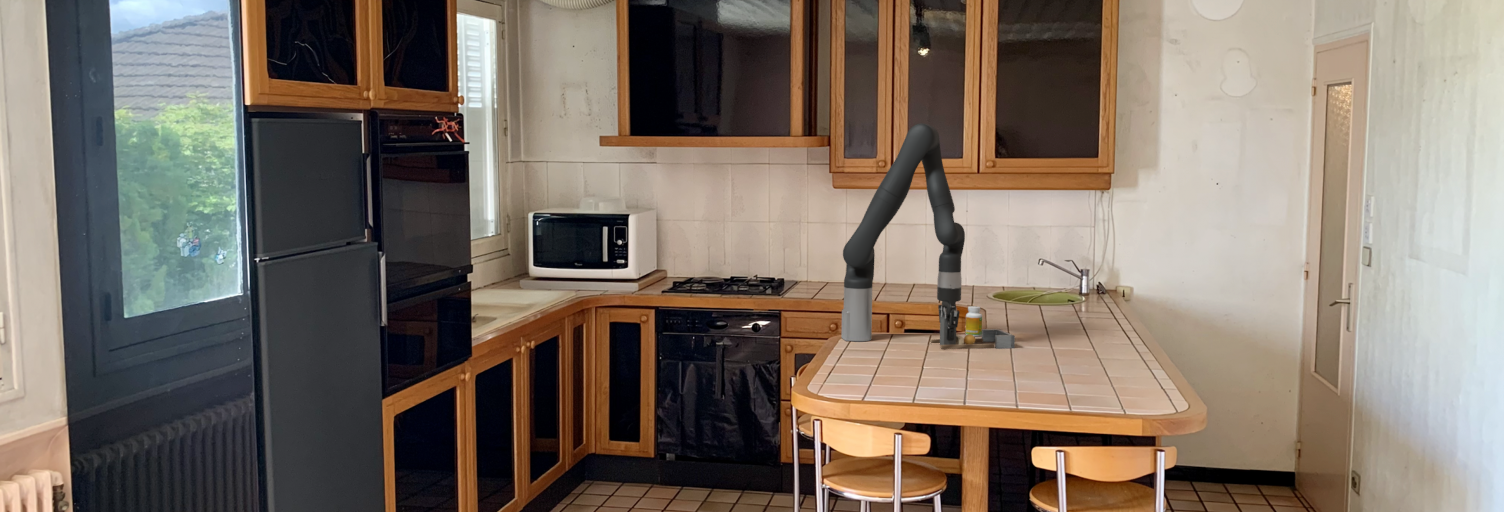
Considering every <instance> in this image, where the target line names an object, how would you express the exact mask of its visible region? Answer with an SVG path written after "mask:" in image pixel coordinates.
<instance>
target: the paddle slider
mask: <svg viewBox="0 0 1504 512" xmlns="http://www.w3.org/2000/svg"><path fill="white" fill-rule="evenodd" d="M948 319H950V318H948ZM939 323H940V324H939V339H940V344H939V346H940V345H956V344H965V343H964V337H963V336H961V335H959V334H957V328H955V329H954V340H953V341H948V340H947V322H946V321H945V317H940V322H939ZM952 324H953V322H952Z"/></svg>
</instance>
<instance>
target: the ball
mask: <svg viewBox="0 0 1504 512" xmlns="http://www.w3.org/2000/svg"><path fill="white" fill-rule="evenodd" d="M963 338H964V342H965V343H964V344H976V343H975V338H976V337H974V336H973V335H971V334H968V335H965V336H964V337H963Z"/></svg>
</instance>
